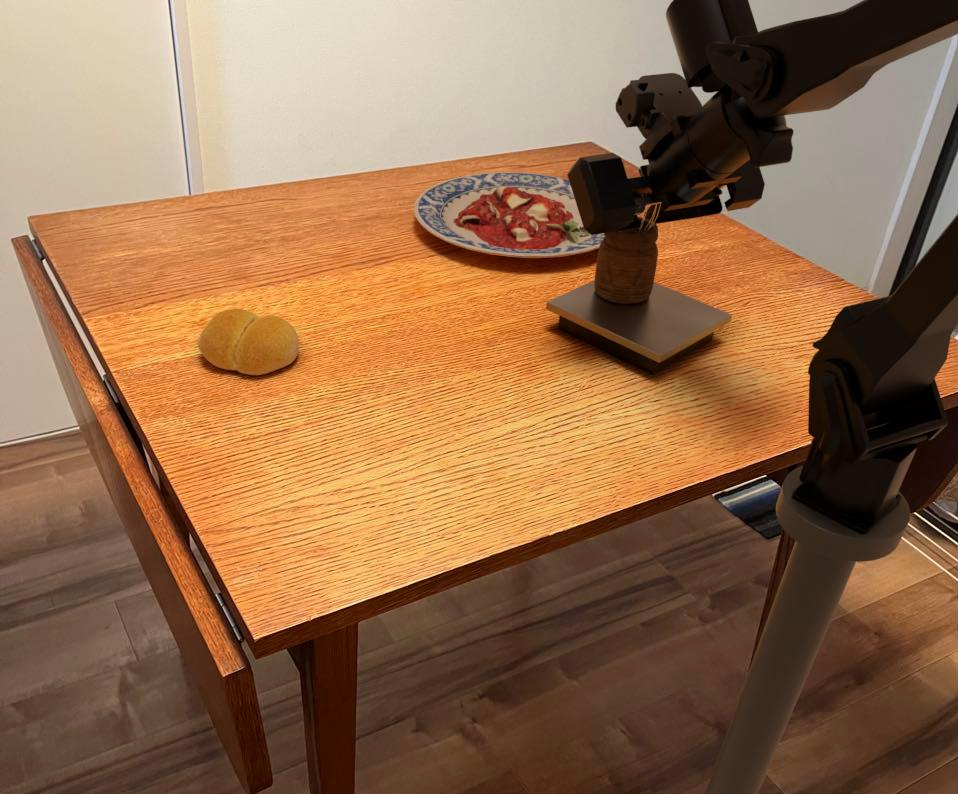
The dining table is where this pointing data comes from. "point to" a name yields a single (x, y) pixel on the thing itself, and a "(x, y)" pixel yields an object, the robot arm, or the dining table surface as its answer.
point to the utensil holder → (627, 263)
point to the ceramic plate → (506, 215)
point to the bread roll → (248, 342)
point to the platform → (639, 325)
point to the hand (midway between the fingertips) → (623, 223)
